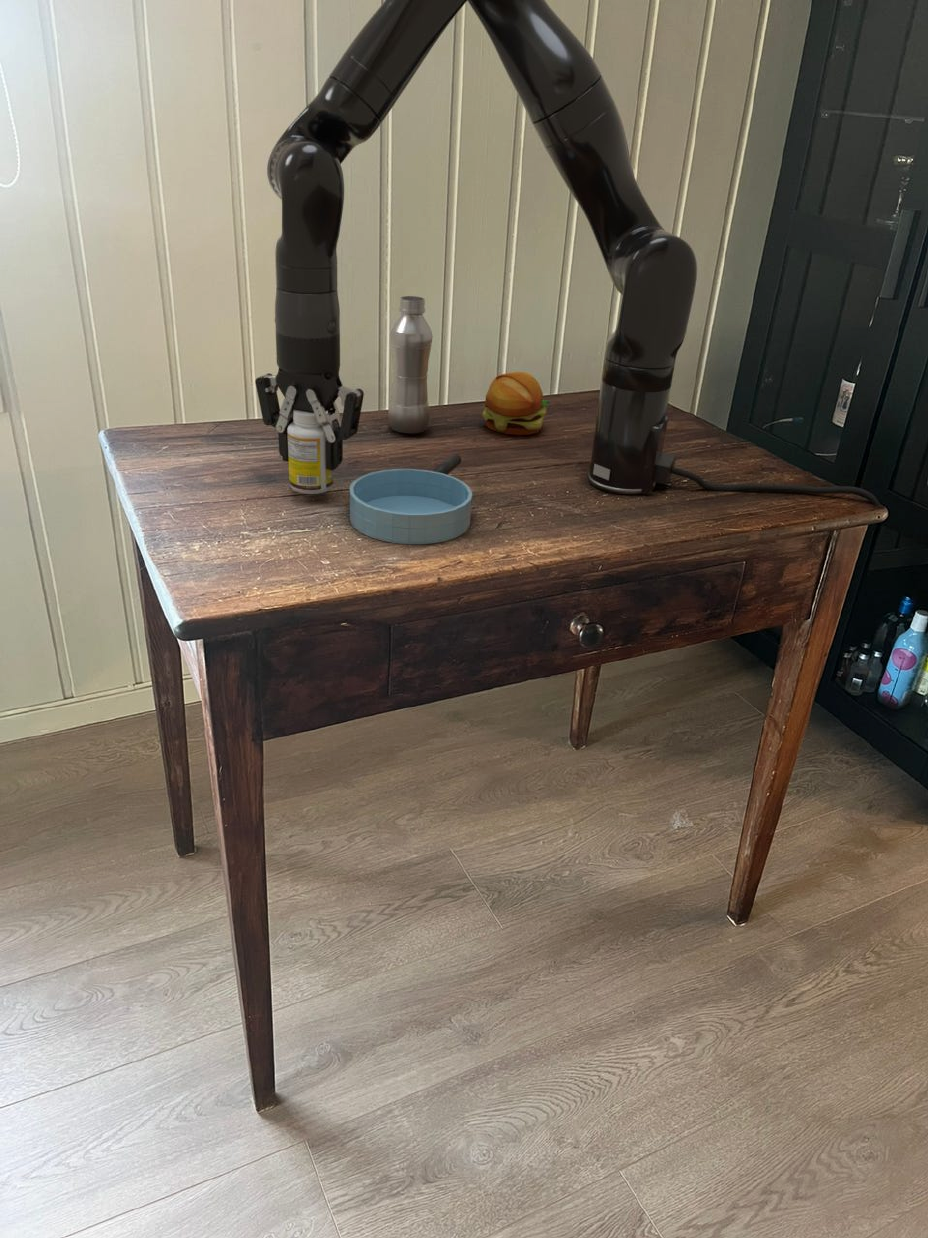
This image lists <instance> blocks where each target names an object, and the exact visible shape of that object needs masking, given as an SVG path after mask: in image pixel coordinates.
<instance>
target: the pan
mask: <svg viewBox="0 0 928 1238" xmlns="http://www.w3.org/2000/svg"><path fill="white" fill-rule="evenodd" d="M348 491H349V494H348V503H349V505H348V509H349V510H348V514H349V522H350V524H351V526H352V527H353V528H354V529H355V530H357V532H359V533H360V534H363V535H364V536H366V537H369V538H373V539H375V540H379V541H382V542H387V543H393V544H400V545H429V544H430V545H432V544H437V543H443V542H447V541H451V540H453V539H456V538H458V537H460V536H462V535H463V534H464V533H466V532H467V530H468V529H469V528H470V526H471V521H472V508H473V507H472V506H473V492H472V489H471V487H470V486H469V485H468V484H467V483H465V482H464V481H463V480H461V479H459V478H457V477H455V476H453V475H449V474H447V475H446V474H443V473H439V472H434V471H433V470H429V469H420V468H419V469H418V468H391V469H381V470H377V471H372V472H368V473H367V474H364V475H361V476H359V477H357V478H356V479H355V480H352V483H351V484H350V486H349V489H348Z"/></svg>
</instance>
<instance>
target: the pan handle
mask: <svg viewBox="0 0 928 1238" xmlns="http://www.w3.org/2000/svg"><path fill="white" fill-rule="evenodd" d="M461 463H462V457H461V455H459V454H458V453H454V454H451V455H450V456H449V457H448V458H446V459H445V460H444V461H442V463H440V464H439V465H438V466H436V467H435V468H434V469H432V471H434V472H439V473H443V474H446V475H449V474H450V473H451V472H453V470H454V469H456V468H457V467H458V466H459V465H461Z"/></svg>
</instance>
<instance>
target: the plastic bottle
mask: <svg viewBox="0 0 928 1238" xmlns="http://www.w3.org/2000/svg"><path fill="white" fill-rule="evenodd" d="M425 304H426V300H425V298H424V297H421V296H415V295H403V296H401V297H400V299H399V307H398V308H399V309H398V310H399V312H400V315H399V316H398V318H397V319H396V320H395V322H394V323H393V325H392V327H391V329H390V332H389V343H390V351H391V360H392V362H391V363H392V384H391V393H390V394H391V395H390V401H389V404H388V411H387V416H388V424H389V426H390V427H391V429H392V430H393V431H395V432H398V433H402V434H411V435H412V434H419V433H423V432H425V430H426V429H427V428H428V427H429V423H430V418H431V411H430V404H429V396H428V373H429V363H430V362H429V361H430V356H431V350H432V345H433V337H434V336H433V333H432V332H433V331H432V329H431V327H430V325H429V323H428V321H427V320H426V319H425V317H424V314H425V313H426V308H425V307H426V305H425Z"/></svg>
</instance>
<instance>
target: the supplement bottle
mask: <svg viewBox="0 0 928 1238" xmlns="http://www.w3.org/2000/svg"><path fill="white" fill-rule="evenodd" d="M287 433H288V457H289V462H288V474H289V475H288V477H289V478H288V479H289V480H288V481H289V486H290V488H291V489H292V490H293V491H295V492H297V493H299V494H303V495H320V494H324V493H326V492H329V491H330V490H331V489H332V488H333V486H334V470H327V469H326V442H327V441H328V440H327V438H326V435H325V433H324V430H323V427H322V426H321V425H319V423H318V421H317V418H316V416H315V414H314V413H309V412H303V411H298V410H293V422H292V423H291V424H290V425H289V426H288V429H287Z"/></svg>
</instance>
